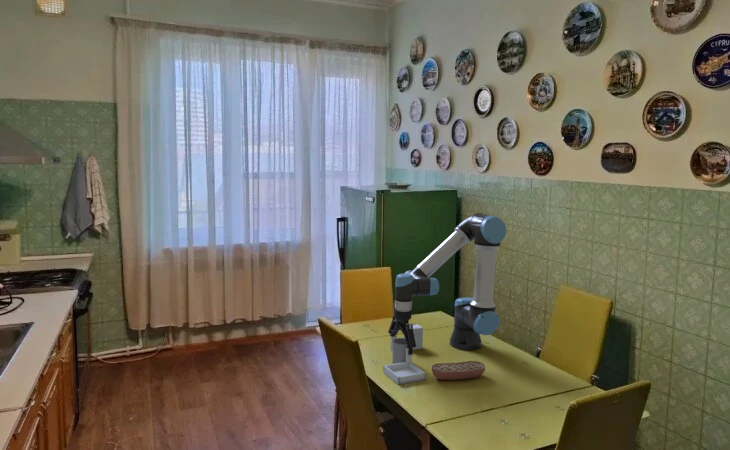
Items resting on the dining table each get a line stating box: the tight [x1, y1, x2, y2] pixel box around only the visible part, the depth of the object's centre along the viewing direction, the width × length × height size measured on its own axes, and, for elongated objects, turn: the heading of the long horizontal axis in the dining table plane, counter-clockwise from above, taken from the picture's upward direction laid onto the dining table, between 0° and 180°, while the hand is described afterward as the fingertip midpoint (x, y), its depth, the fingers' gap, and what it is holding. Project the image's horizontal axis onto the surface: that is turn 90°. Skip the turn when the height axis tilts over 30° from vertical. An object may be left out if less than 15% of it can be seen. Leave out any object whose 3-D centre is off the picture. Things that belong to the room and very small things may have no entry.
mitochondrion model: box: [431, 360, 486, 381], centre depth 226 cm, size 23×10×5 cm, turn 103°
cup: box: [391, 337, 407, 364], centre depth 241 cm, size 8×8×10 cm
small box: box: [402, 324, 424, 351], centre depth 260 cm, size 8×6×10 cm
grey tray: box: [382, 362, 427, 386], centre depth 227 cm, size 13×14×3 cm
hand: (400, 356), depth 241 cm, fingers open, 13 cm apart
